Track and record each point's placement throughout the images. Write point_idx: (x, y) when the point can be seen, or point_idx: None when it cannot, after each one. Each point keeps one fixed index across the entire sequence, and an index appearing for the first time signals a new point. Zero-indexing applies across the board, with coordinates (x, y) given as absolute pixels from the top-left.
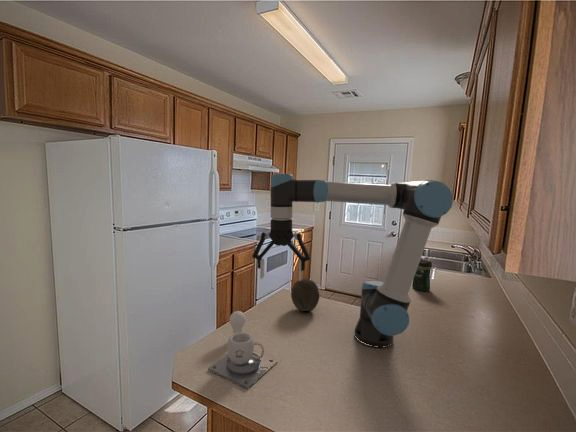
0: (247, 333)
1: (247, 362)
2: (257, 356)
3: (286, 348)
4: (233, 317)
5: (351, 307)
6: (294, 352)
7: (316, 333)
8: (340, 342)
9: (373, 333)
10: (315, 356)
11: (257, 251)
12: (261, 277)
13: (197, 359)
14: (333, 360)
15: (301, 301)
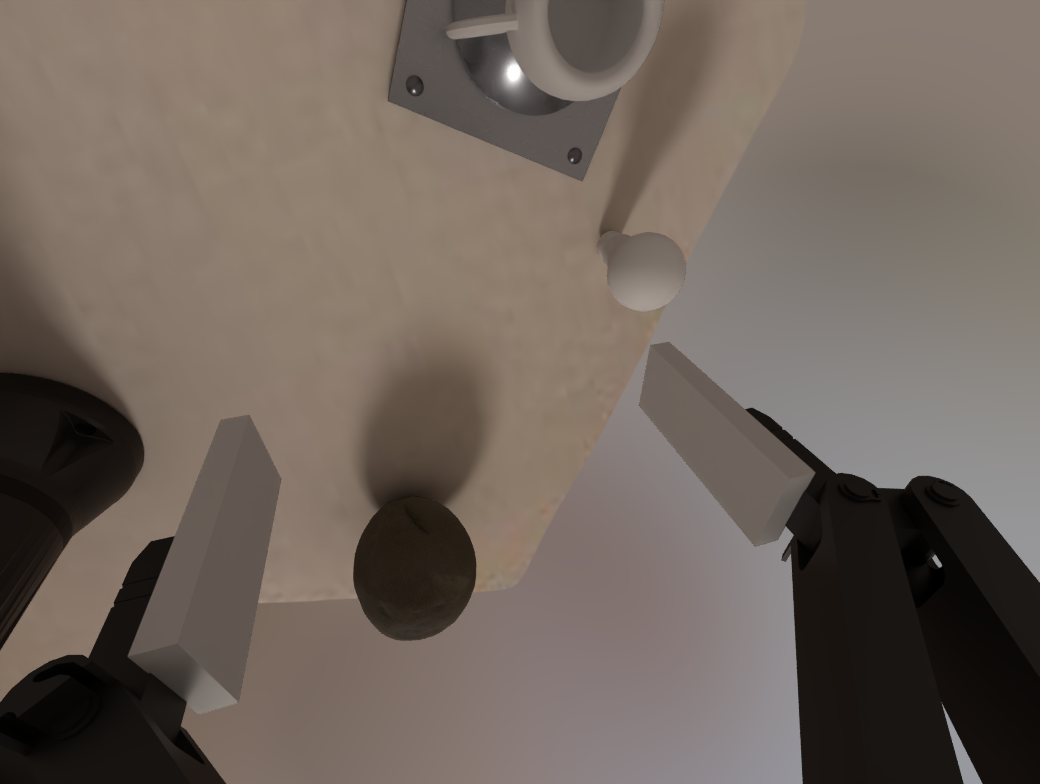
0: (573, 76)
1: None
2: (484, 79)
3: (388, 235)
4: (672, 249)
5: None
6: (341, 214)
7: (305, 388)
8: (171, 360)
9: None
10: (231, 211)
11: (988, 580)
12: (664, 348)
13: (733, 28)
14: (127, 202)
15: (417, 522)
